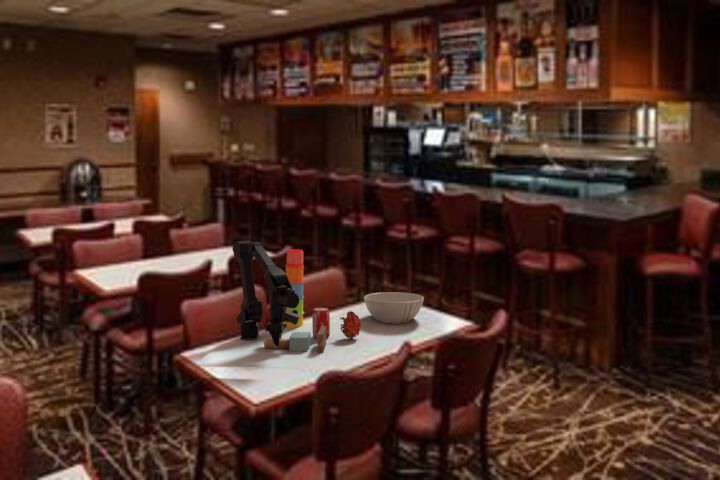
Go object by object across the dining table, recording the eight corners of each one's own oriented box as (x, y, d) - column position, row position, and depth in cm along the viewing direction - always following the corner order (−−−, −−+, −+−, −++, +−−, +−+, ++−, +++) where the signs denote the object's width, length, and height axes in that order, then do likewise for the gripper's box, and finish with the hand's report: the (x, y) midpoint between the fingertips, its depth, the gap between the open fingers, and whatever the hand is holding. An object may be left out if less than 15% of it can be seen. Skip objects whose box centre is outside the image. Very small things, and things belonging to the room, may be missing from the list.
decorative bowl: (426, 330, 291) (426, 302, 290) (363, 330, 292) (363, 302, 291) (421, 317, 318) (421, 292, 317) (364, 317, 318) (364, 292, 317)
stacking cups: (287, 325, 301) (286, 248, 298) (308, 327, 297) (307, 249, 294) (276, 330, 292) (275, 250, 289) (297, 332, 288) (297, 251, 285)
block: (289, 351, 257) (289, 337, 256) (292, 345, 266) (292, 332, 266) (307, 351, 257) (307, 337, 256) (310, 345, 266) (310, 332, 265)
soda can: (327, 340, 274) (327, 311, 273) (310, 339, 275) (310, 310, 274) (331, 336, 281) (331, 307, 280) (315, 335, 282) (314, 307, 281)
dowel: (264, 349, 260) (264, 339, 260) (265, 346, 264) (265, 337, 263) (290, 349, 260) (290, 340, 259) (291, 346, 263) (291, 337, 263)
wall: (317, 352, 254) (317, 334, 254) (321, 343, 268) (321, 326, 267) (323, 352, 254) (322, 334, 253) (326, 343, 268) (326, 326, 267)
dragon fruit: (350, 335, 282) (350, 307, 281) (366, 338, 276) (366, 309, 275) (336, 339, 275) (336, 310, 274) (352, 342, 270) (352, 312, 269)
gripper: (294, 309, 251) (295, 351, 252) (301, 300, 269) (301, 339, 271) (265, 309, 251) (265, 350, 252) (273, 300, 270) (273, 339, 271)
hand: (277, 344), depth 262 cm, fingers closed on dowel, 3 cm apart
